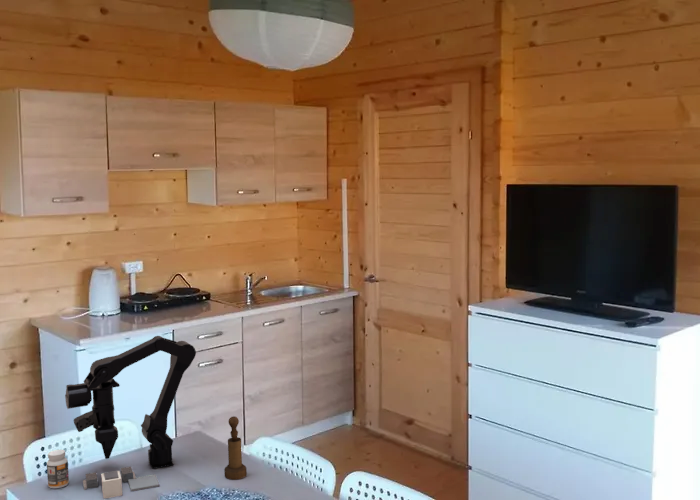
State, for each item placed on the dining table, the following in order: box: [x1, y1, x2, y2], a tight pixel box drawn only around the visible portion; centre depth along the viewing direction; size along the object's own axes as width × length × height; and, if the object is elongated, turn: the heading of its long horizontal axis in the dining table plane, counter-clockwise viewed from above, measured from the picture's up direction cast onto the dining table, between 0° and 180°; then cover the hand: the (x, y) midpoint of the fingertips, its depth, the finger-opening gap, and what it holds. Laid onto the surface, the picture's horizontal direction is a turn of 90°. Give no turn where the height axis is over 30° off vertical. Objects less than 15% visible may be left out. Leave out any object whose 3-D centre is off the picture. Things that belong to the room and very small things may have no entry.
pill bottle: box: [46, 449, 70, 489], centre depth 212 cm, size 6×6×10 cm
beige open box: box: [100, 470, 123, 500], centre depth 206 cm, size 5×6×6 cm
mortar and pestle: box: [223, 415, 248, 480], centre depth 216 cm, size 7×6×18 cm
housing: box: [82, 466, 137, 491], centre depth 214 cm, size 15×6×2 cm, turn 113°
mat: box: [128, 473, 160, 492], centre depth 212 cm, size 8×8×1 cm
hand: (106, 453), depth 218 cm, fingers open, 9 cm apart
